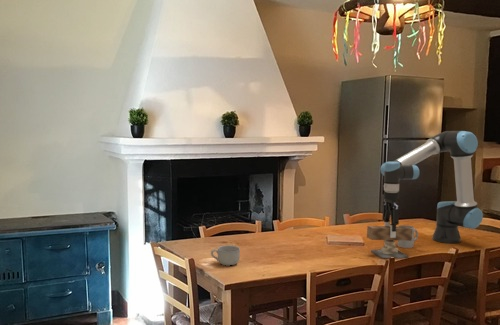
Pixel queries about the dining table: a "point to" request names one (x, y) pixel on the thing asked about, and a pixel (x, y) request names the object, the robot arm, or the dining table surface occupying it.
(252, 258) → the dining table surface
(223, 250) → the teacup
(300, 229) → the dining table surface
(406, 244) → the mug
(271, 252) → the dining table surface
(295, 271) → the dining table surface
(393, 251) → the fulcrum
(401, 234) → the beam
